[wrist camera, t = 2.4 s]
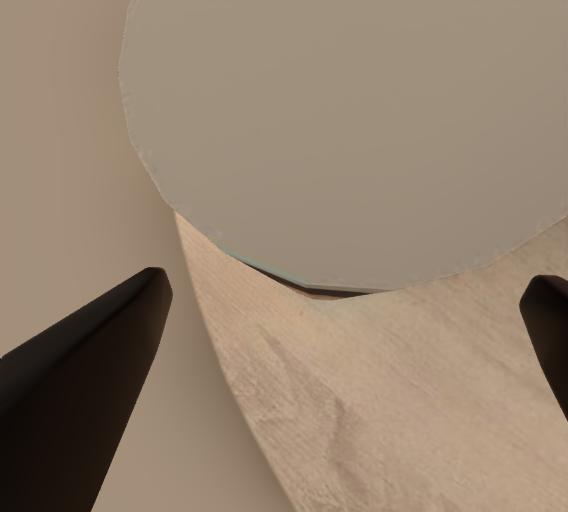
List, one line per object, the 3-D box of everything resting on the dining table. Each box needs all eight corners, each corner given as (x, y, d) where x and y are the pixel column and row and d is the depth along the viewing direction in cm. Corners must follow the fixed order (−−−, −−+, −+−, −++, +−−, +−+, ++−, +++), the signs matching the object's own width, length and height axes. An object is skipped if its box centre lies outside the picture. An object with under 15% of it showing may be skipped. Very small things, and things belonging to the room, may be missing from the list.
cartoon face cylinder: (283, 181, 20) (189, -177, 5) (392, 201, 19) (666, -161, 4) (258, 286, 19) (55, 228, 4) (370, 312, 18) (616, 355, 3)
